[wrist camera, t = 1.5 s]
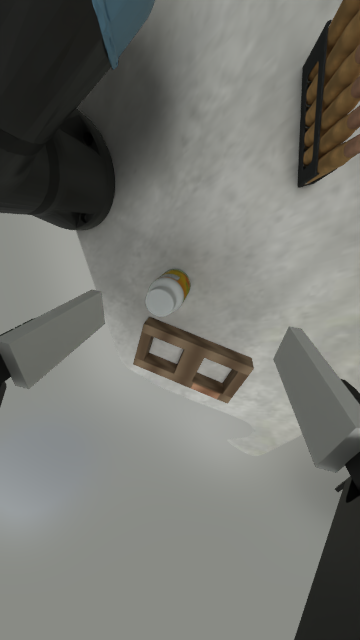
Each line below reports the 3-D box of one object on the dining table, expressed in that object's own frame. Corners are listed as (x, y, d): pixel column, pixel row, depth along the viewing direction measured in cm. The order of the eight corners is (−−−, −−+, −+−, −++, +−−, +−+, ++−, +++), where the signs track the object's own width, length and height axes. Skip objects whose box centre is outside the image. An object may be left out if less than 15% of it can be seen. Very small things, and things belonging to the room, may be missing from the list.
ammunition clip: (314, 183, 23) (393, 144, 12) (297, 188, 23) (359, 153, 13) (323, 57, 18) (459, -175, 8) (302, 66, 19) (403, -139, 8)
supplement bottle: (187, 301, 33) (175, 326, 25) (160, 294, 34) (139, 316, 25) (193, 272, 31) (182, 289, 22) (163, 265, 31) (141, 279, 23)
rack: (138, 355, 42) (132, 364, 39) (149, 316, 36) (143, 324, 34) (227, 392, 41) (227, 404, 38) (251, 358, 36) (254, 369, 33)
